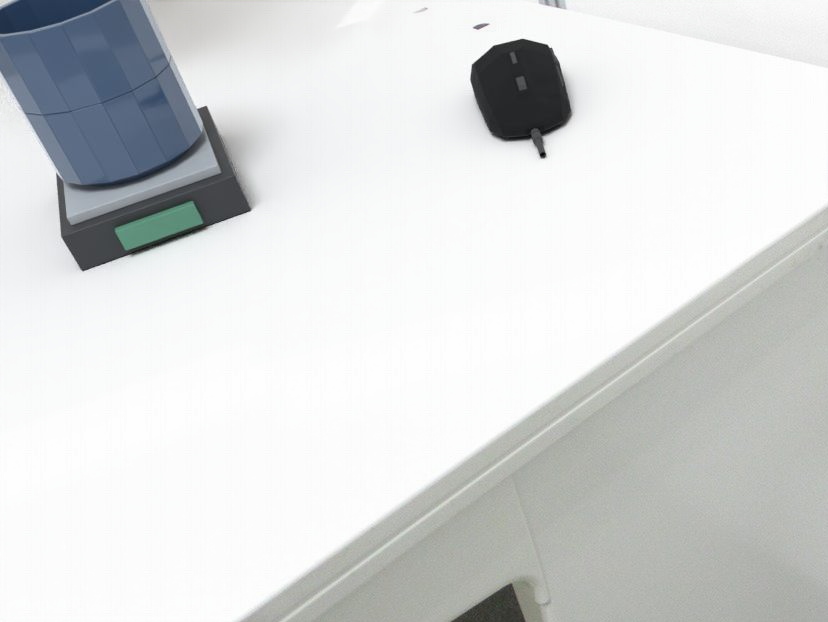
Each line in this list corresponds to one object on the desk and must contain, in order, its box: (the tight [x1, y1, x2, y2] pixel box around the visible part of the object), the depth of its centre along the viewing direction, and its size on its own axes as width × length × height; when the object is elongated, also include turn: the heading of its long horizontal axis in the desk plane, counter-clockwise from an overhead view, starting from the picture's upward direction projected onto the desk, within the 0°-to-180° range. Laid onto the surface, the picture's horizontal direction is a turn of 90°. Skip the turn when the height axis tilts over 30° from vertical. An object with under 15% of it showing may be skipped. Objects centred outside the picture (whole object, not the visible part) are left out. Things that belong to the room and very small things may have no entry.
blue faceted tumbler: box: [0, 0, 203, 186], centre depth 69 cm, size 10×10×10 cm
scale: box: [55, 105, 252, 272], centre depth 73 cm, size 15×11×3 cm
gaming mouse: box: [469, 38, 572, 159], centre depth 73 cm, size 6×15×4 cm, turn 13°
